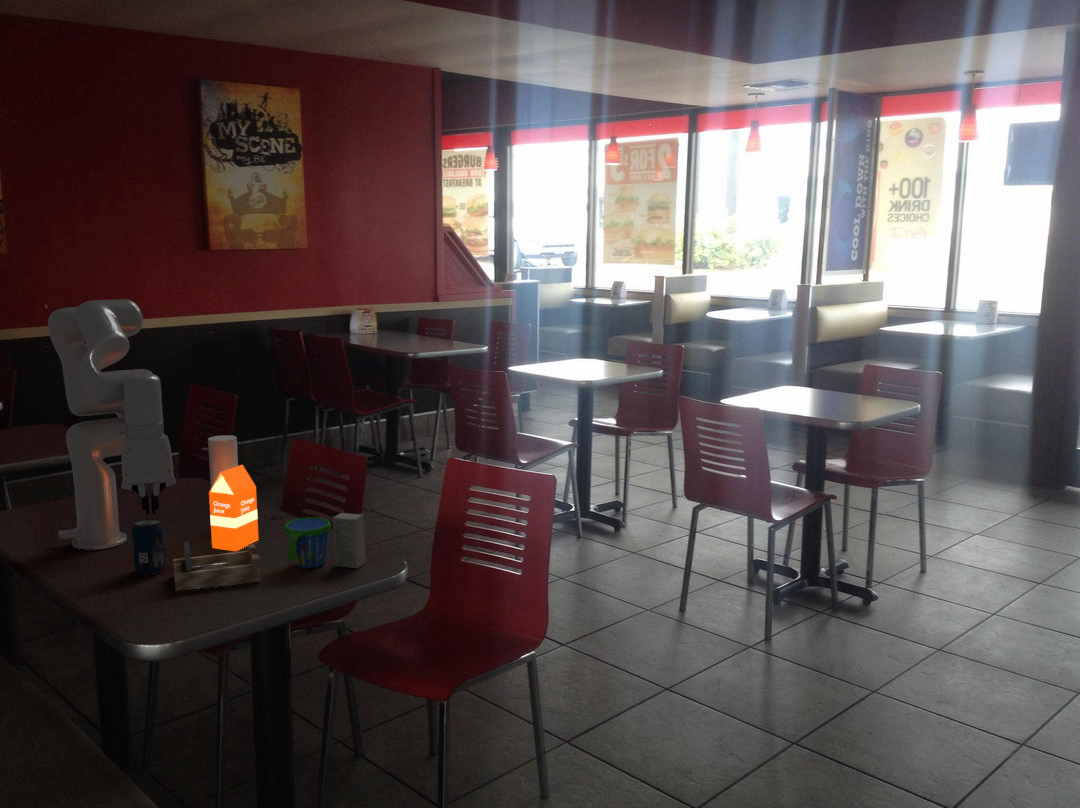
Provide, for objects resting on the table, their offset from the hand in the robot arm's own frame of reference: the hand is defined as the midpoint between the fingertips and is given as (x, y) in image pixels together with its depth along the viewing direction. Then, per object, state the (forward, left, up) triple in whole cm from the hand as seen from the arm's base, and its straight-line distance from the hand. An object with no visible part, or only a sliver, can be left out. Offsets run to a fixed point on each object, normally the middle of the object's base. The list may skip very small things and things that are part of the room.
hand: (150, 512), depth 204 cm
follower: (+11, 0, -16) cm, 19 cm away
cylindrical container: (+18, +38, -17) cm, 45 cm away
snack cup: (+34, +2, -17) cm, 38 cm away
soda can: (-1, +11, -17) cm, 21 cm away
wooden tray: (+13, 0, -17) cm, 21 cm away
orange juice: (+19, +24, -17) cm, 35 cm away
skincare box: (+43, -2, -17) cm, 46 cm away
